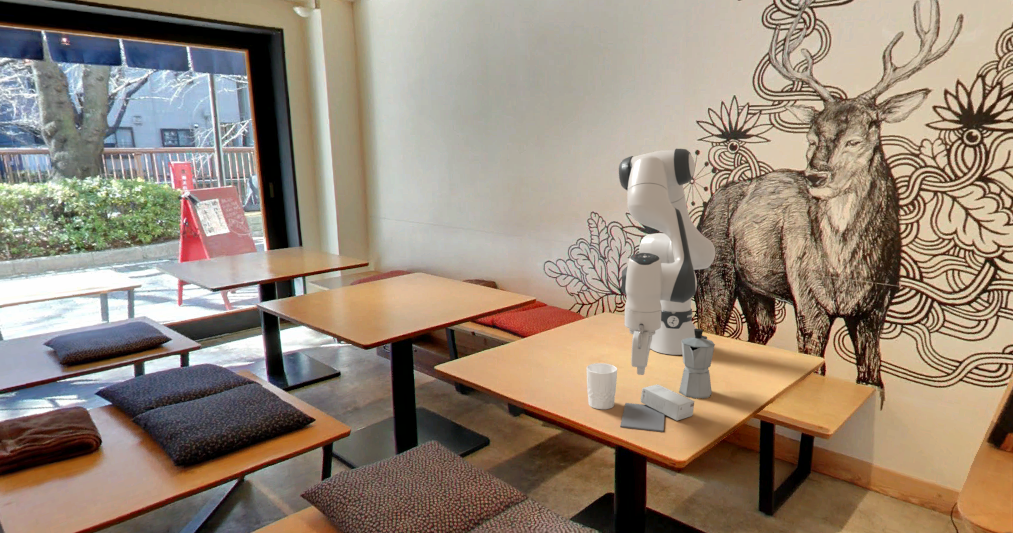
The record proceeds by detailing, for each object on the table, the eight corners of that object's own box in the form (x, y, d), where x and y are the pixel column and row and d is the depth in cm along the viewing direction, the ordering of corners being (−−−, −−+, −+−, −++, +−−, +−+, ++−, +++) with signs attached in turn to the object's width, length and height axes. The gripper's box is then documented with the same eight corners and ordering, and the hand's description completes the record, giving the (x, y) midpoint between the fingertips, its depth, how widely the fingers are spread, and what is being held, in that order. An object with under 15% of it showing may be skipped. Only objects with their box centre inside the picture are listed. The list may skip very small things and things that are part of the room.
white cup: (622, 403, 154) (623, 367, 152) (605, 413, 148) (606, 375, 147) (596, 396, 159) (597, 361, 158) (580, 405, 154) (580, 368, 152)
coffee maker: (707, 404, 153) (711, 337, 150) (673, 397, 158) (676, 333, 155) (717, 385, 166) (721, 323, 163) (686, 379, 171) (688, 320, 167)
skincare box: (639, 402, 153) (676, 422, 143) (641, 386, 152) (678, 405, 142) (656, 398, 156) (692, 417, 146) (658, 382, 155) (695, 401, 145)
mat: (625, 404, 154) (625, 402, 154) (664, 408, 151) (665, 406, 151) (620, 427, 141) (620, 425, 140) (663, 431, 138) (663, 430, 138)
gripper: (653, 331, 134) (651, 389, 137) (657, 310, 154) (655, 361, 156) (626, 329, 136) (624, 386, 138) (632, 309, 155) (631, 359, 158)
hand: (641, 372), depth 147 cm, fingers closed
